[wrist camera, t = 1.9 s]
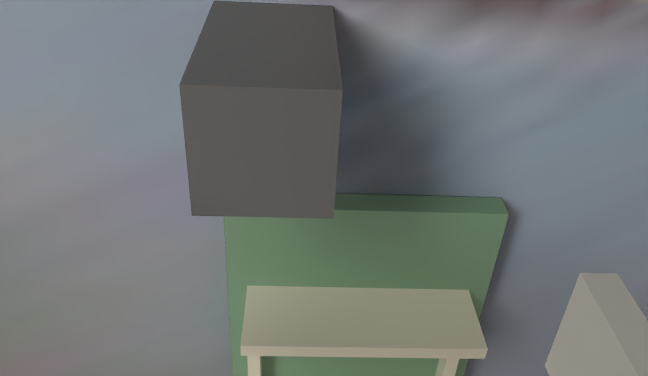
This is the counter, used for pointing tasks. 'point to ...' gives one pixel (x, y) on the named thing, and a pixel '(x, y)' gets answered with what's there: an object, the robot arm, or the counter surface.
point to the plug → (263, 111)
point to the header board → (363, 287)
